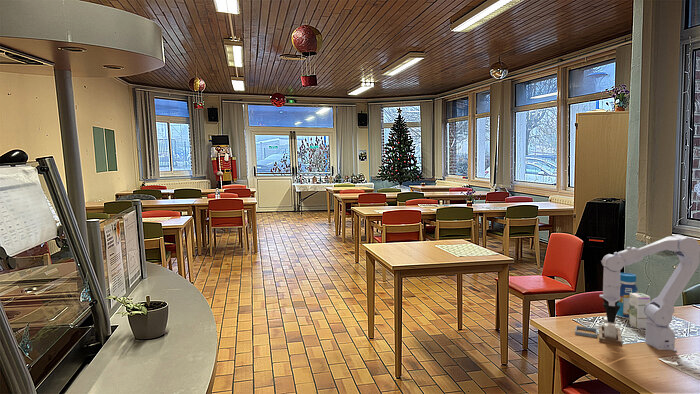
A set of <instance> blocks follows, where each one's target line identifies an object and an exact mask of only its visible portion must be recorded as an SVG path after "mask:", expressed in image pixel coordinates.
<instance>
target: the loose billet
mask: <svg viewBox="0 0 700 394" xmlns="http://www.w3.org/2000/svg"><path fill="white" fill-rule="evenodd" d="M603 326H604V325H603ZM617 328H618V327H617V323H616V324H609V323H605V326H604V338H609V339H615V340H616V335H617Z"/></svg>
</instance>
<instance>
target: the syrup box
mask: <svg viewBox="0 0 700 394" xmlns="http://www.w3.org/2000/svg"><path fill="white" fill-rule="evenodd" d="M650 302H651V296H650V295H648V294H645V293H643V292H637V293H630V299H629V319H628V324H629V325H631V326H633V327H634V328H635V329H646V319H647V316H646V315H645V314H644V307H645V306H646V305H647V304H648V303H650Z"/></svg>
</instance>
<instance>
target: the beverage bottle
mask: <svg viewBox="0 0 700 394" xmlns="http://www.w3.org/2000/svg"><path fill="white" fill-rule="evenodd" d="M636 282H637V275H636V274H634V273H629V272H620V300H619V302H618V303H617V306H620V309H619V310H618V312H617V314H616V317H618V316H619V318H621V317H622V319H624V318H626V320H629V299H630V293H638V291H639V290H638V287H637V285H636Z"/></svg>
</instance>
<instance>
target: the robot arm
mask: <svg viewBox="0 0 700 394" xmlns="http://www.w3.org/2000/svg"><path fill="white" fill-rule="evenodd" d="M664 251H669V252H670V251H671V252H673V253H675V254H676V256H677V258H678V259H679V263H678V264H677V266H676V268H674V270H673V272H672V274H671V275H670V276H669V279H668V280H667V281H666V284H665V285H663V286H664V287H663V288H662V290H661V291H660V292H659V294H658V296H656V297H654V298H652V300H650V303H648V304H647V305H646V306H645V307H644V314H645V315H646V316H647V319H646V328H645V338H644V339H645V342H644V343H645V344H647V345H648V346H651V347H653V348H655V349H657V350H658V351H661V350H662V351H663V350H664V351H673V352H677V351H678V350H677V349H676V348H675V342H676V334H675V332H674V331H673V330H672V329H671V327H670V324H671V322H672V321H673V314H674V313H675V303H676V301H677V300H678V299H679V297H680V295H681V294H682V292H683V291H684V289H685V288H686V286H687V285H688V283H689V282H690V280H691V278H692V277H693V275H694V273H695V272H696V270H697V269H698V267H699V265H700V244H699V242H698V240H697V239H695V238H694V237H689V236H686V235H685V236H684V235H682V234H678V233H677V234H673V235H672V236H671V235H670V236H669V235H668V236H665V237H664V238H661V239H659V240H656V241H654V242H651V243H649V244H646V245H643V246H642V247H639V248H637V247H634V246H632V247H631V246H627V247H626V249H624V250H620V251H618V252H617V251H615V252H613V254H611V253H608V254H606V255H604V256H603V258H602V260H600V262H601V265H602V266H603V273H602V274H603V276H602V277H603V278H602V294H601V293H600V294H599V298H602V301H603V302H602V306H603V308H604V310H605V313H606V314H605V315H606V317H607V320H608V322H612V323H614V322H615V319H616V318H617V315H616V314H617V312H618V310H619V309H620V306H617V303H618V302H619V300H620V273H621V270H622V269H623V268H624V267H626V266H627V267H628V266H630V265H633V264H635V263H638V262H641V261H642V259H643V258H644V257H646V256H649V255H652V254H657V253H660V252H664Z"/></svg>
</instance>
